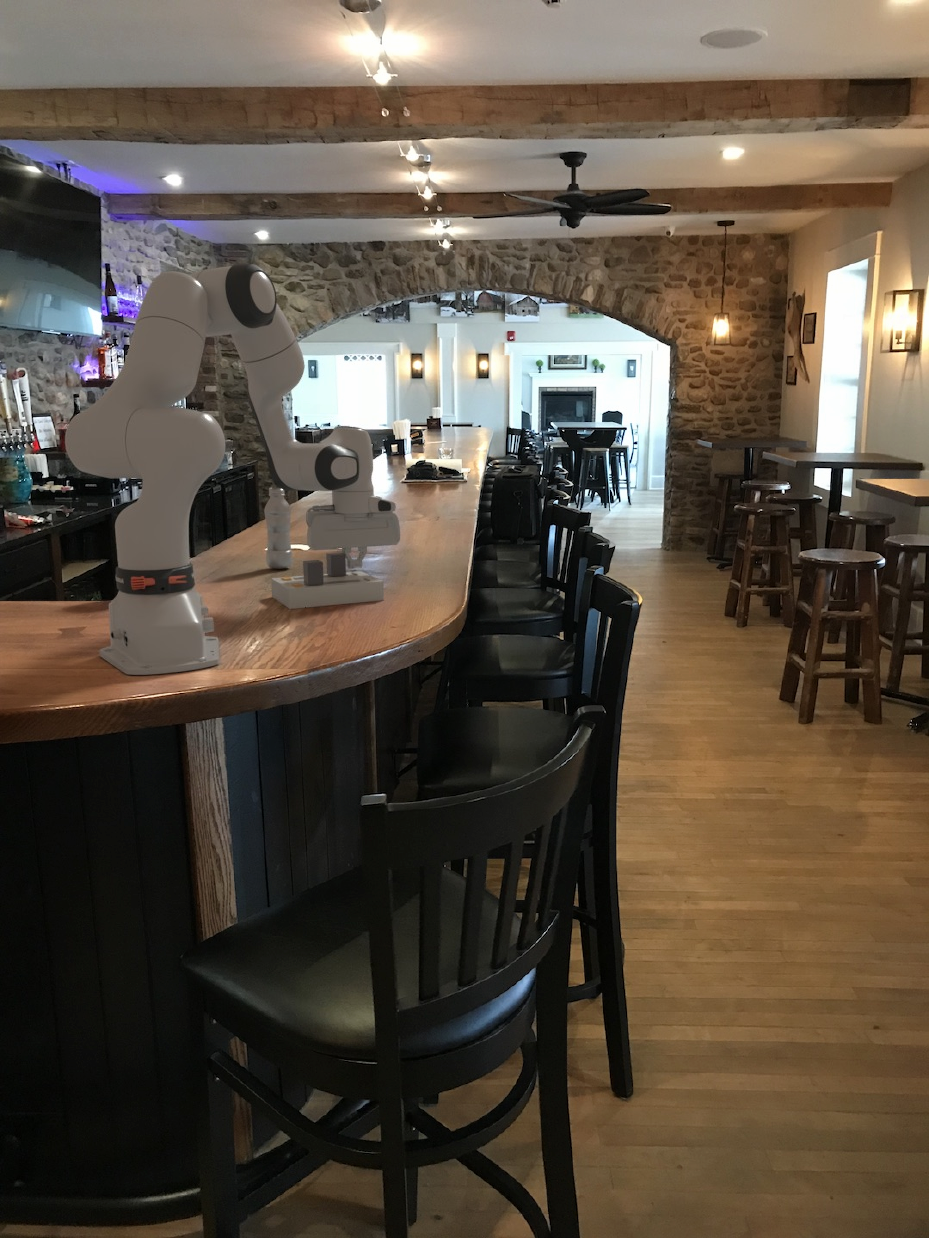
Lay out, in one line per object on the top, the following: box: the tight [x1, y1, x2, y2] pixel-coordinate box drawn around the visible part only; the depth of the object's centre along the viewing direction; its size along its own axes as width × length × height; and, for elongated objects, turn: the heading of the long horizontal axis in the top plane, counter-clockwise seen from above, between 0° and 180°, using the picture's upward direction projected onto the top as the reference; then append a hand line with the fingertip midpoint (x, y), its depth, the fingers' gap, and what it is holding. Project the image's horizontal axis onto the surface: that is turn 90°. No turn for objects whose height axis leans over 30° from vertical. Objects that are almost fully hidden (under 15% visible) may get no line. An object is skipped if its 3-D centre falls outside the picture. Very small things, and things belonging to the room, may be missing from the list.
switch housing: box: [270, 570, 385, 610], centre depth 196 cm, size 14×20×4 cm
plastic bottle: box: [263, 487, 294, 570], centre depth 231 cm, size 6×7×20 cm
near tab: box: [302, 559, 324, 585], centre depth 190 cm, size 3×3×4 cm
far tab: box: [325, 551, 347, 576], centre depth 200 cm, size 3×3×4 cm
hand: (354, 568), depth 202 cm, fingers closed
